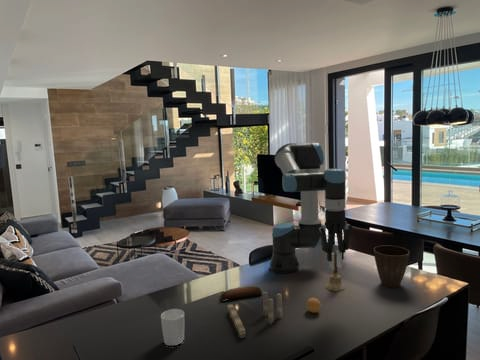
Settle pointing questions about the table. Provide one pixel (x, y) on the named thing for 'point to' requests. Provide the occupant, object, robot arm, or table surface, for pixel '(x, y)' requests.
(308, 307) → the ball
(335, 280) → the hand bell
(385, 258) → the plant pot
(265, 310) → the pin
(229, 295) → the sunglasses case
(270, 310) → the pin
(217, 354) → the table surface
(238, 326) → the grey long bar
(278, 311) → the front pin
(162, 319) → the white cup
